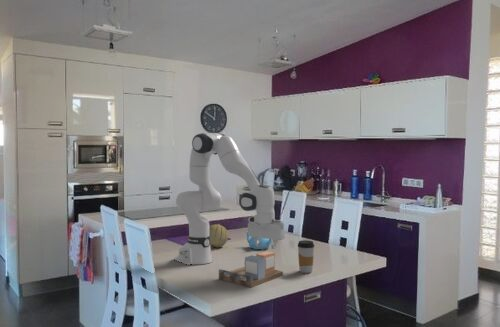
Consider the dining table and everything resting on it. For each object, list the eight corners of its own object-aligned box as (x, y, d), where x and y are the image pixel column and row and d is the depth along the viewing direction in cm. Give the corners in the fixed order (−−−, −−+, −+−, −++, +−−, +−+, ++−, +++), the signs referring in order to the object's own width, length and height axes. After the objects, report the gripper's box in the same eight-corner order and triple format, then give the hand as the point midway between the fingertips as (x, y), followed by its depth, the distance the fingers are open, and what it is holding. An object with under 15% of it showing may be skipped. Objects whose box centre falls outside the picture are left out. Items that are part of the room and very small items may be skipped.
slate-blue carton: (251, 274, 200) (251, 255, 200) (265, 277, 195) (265, 258, 195) (244, 276, 196) (244, 257, 196) (257, 280, 191) (257, 260, 191)
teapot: (266, 245, 275) (266, 229, 274) (274, 250, 260) (274, 233, 260) (244, 246, 270) (244, 230, 270) (252, 251, 256) (252, 234, 256)
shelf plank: (218, 279, 199) (218, 269, 199) (251, 268, 218) (251, 259, 218) (250, 287, 186) (250, 277, 186) (282, 275, 205) (282, 266, 205)
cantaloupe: (202, 249, 262) (202, 225, 262) (207, 244, 277) (207, 221, 276) (226, 250, 260) (225, 225, 260) (229, 245, 275) (229, 222, 274)
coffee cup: (317, 272, 209) (317, 242, 209) (302, 274, 207) (302, 244, 206) (309, 268, 217) (309, 239, 217) (294, 270, 214) (294, 240, 214)
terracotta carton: (256, 272, 203) (256, 254, 203) (266, 269, 209) (266, 251, 209) (265, 274, 199) (265, 255, 199) (275, 271, 206) (275, 252, 205)
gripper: (287, 219, 199) (287, 248, 199) (253, 216, 213) (253, 244, 213) (279, 221, 195) (279, 251, 195) (245, 217, 208) (245, 246, 208)
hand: (265, 247), depth 204 cm, fingers open, 8 cm apart
